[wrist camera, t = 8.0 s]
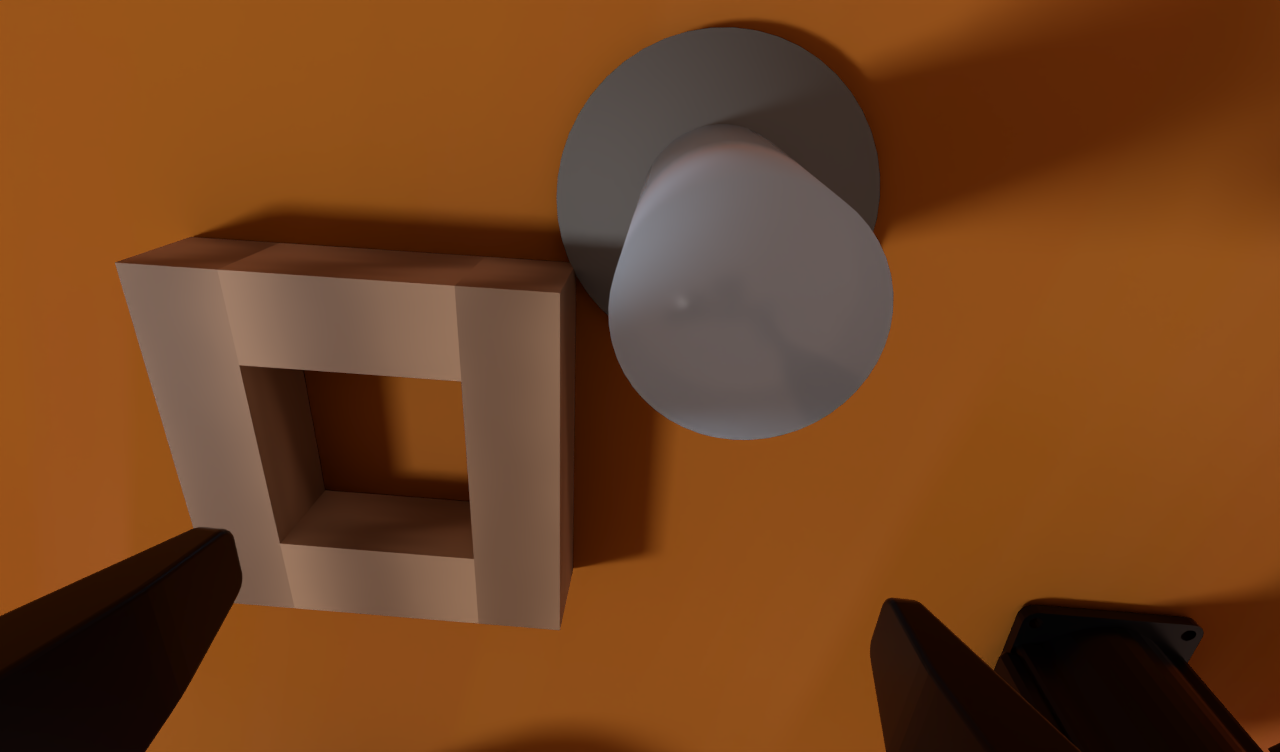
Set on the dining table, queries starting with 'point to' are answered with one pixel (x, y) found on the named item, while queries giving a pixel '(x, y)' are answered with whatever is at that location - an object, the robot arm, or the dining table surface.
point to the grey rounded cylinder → (746, 290)
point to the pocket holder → (374, 345)
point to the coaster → (695, 97)
